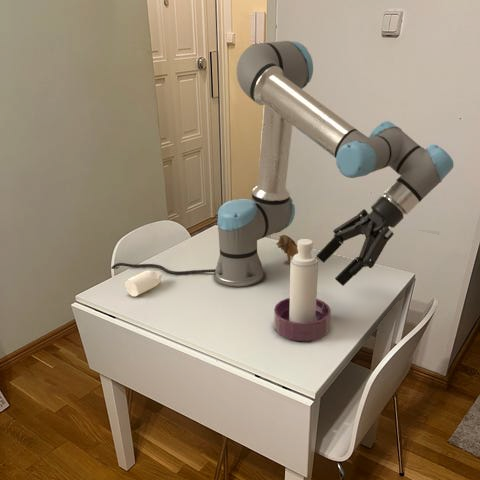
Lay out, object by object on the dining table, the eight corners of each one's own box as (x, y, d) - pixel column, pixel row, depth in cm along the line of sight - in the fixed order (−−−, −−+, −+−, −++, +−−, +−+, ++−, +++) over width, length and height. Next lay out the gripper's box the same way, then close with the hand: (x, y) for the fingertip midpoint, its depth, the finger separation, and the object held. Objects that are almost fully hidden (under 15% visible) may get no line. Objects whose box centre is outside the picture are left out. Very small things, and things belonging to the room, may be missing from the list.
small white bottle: (168, 284, 152) (166, 267, 149) (138, 299, 145) (136, 282, 142) (156, 279, 156) (153, 263, 153) (126, 293, 148) (123, 276, 145)
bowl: (269, 339, 123) (269, 321, 121) (279, 312, 135) (279, 294, 132) (326, 345, 120) (327, 326, 117) (331, 316, 132) (332, 298, 129)
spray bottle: (306, 335, 123) (309, 242, 111) (284, 327, 127) (285, 236, 114) (319, 324, 128) (325, 233, 115) (298, 316, 131) (300, 228, 119)
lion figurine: (274, 261, 164) (274, 236, 160) (283, 256, 168) (283, 231, 163) (311, 272, 156) (312, 246, 151) (320, 267, 159) (321, 241, 155)
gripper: (429, 233, 106) (358, 302, 112) (380, 199, 127) (321, 259, 133) (410, 212, 103) (337, 284, 108) (362, 181, 124) (303, 242, 129)
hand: (328, 270), depth 121 cm, fingers open, 13 cm apart
